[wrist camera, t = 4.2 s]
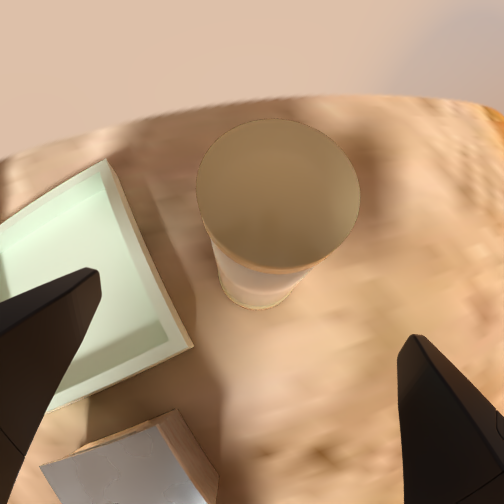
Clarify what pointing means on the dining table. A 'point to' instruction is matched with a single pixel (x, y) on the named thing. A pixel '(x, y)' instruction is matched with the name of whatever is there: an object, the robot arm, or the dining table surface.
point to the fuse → (274, 206)
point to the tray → (111, 276)
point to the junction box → (137, 467)
